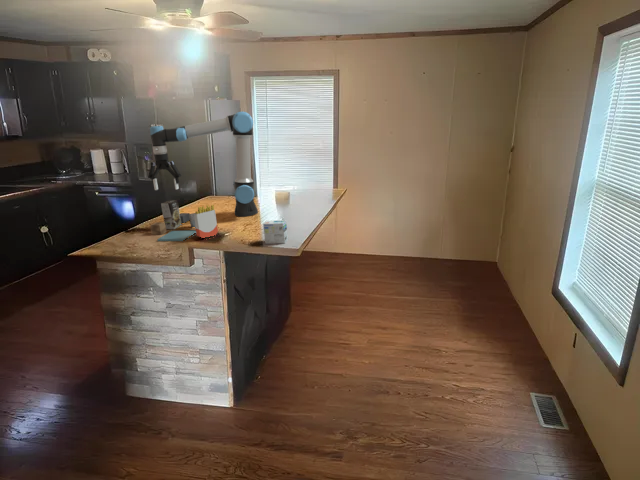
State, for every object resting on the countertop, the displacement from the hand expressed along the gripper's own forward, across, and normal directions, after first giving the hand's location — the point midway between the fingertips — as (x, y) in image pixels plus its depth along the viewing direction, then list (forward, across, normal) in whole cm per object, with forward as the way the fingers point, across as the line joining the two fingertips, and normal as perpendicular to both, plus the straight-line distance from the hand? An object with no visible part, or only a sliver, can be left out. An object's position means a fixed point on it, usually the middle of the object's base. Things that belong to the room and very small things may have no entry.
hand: (166, 189), depth 260 cm
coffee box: (+24, 0, 0) cm, 24 cm away
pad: (+23, +14, -20) cm, 34 cm away
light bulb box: (+23, +75, -30) cm, 84 cm away
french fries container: (+24, +33, -22) cm, 46 cm away
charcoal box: (+24, 0, +12) cm, 27 cm away
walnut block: (+24, -2, -13) cm, 27 cm away
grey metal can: (+23, +15, 0) cm, 28 cm away
